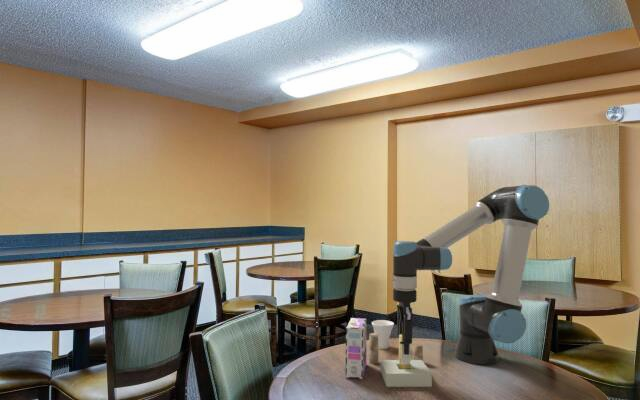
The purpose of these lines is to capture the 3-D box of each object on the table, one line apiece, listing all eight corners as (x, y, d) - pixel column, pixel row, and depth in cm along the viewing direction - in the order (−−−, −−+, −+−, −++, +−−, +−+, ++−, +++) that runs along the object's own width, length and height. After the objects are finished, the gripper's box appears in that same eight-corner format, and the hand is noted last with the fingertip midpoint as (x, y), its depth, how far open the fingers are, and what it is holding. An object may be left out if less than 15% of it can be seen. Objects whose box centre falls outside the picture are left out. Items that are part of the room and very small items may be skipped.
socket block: (421, 372, 140) (421, 360, 141) (431, 386, 128) (431, 373, 129) (380, 371, 140) (380, 360, 140) (386, 386, 128) (386, 373, 128)
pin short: (421, 361, 151) (421, 344, 151) (423, 364, 148) (423, 347, 148) (412, 361, 151) (412, 344, 151) (414, 364, 148) (414, 347, 148)
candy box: (363, 379, 134) (363, 328, 134) (345, 378, 135) (345, 327, 135) (366, 364, 147) (367, 317, 148) (350, 363, 148) (350, 317, 149)
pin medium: (377, 360, 151) (377, 333, 151) (379, 364, 148) (379, 335, 148) (368, 360, 151) (368, 333, 151) (370, 364, 148) (370, 335, 148)
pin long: (408, 377, 136) (407, 334, 136) (410, 381, 133) (410, 337, 133) (398, 377, 136) (398, 334, 136) (400, 381, 133) (400, 337, 133)
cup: (371, 350, 162) (371, 324, 163) (372, 343, 172) (372, 318, 172) (394, 351, 161) (394, 325, 161) (394, 344, 170) (393, 319, 170)
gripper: (388, 284, 143) (388, 353, 143) (398, 293, 127) (397, 371, 126) (410, 284, 143) (410, 353, 143) (422, 293, 127) (422, 371, 126)
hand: (404, 361), depth 134 cm, fingers closed on pin long, 3 cm apart
